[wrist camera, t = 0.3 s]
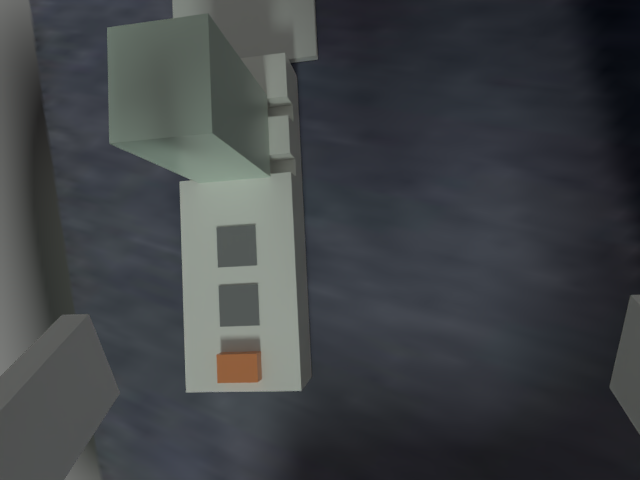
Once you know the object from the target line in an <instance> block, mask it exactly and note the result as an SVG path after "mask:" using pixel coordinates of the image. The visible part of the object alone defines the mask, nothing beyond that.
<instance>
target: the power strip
mask: <svg viewBox="0 0 640 480" xmlns="http://www.w3.org/2000/svg"><path fill="white" fill-rule="evenodd" d="M241 60H242V61H243V63H244V64H245V65H246V67H247V68H248V70H249V71H250V72H251V74H252V75H253V77H254V78H255V79H256V81H257V82H258V84H259V85H260V86H261V88H262V89H263V90H264V92H265V93H266V95H267V107H268V130H269V152H270V175H271V177H266V178H254V179H242V180H231V181H219V182H207V183H197V182H195V181H193V180H191V179H190V181H181V182H180V211H181V243H182V276H183V309H184V342H185V375H186V392H253V391H302V389H303V388H304V387H305V385H306V384H307V383H308V381H309V380H310V379H311V377H312V369H311V349H310V328H309V308H308V288H307V268H306V247H305V227H304V207H303V187H302V166H301V146H300V126H299V106H298V85H297V75H296V73H295V71H294V69H293V67H292V65H291V63H290V61H289V59H288V57H287V55H286V53H278V54H270V55H262V56H254V57H246V58H241Z"/></svg>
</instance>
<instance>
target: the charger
mask: <svg viewBox="0 0 640 480" xmlns="http://www.w3.org/2000/svg"><path fill="white" fill-rule="evenodd" d="M107 46H108V97H109V144H112V145H114V146H116V147H118V148H121V149H123V150H125V151H127V152H130V153H132V154H134V155H137V156H139V157H141V158H143V159H146V160H148V161H150V162H152V163H155V164H157V165H159V166H161V167H164V168H166V169H168V170H170V171H173V172H175V173H177V174H179V175H182V176H184V177H186V178H188V179H191V180H193V181H195V182H197V183H207V182H219V181H231V180H242V179H254V178H266V177H271V175H270V152H269V130H268V107H267V95H266V93H265V92H264V90H263V89H262V88H261V86H260V85H259V84H258V82H257V81H256V79H255V78H254V77H253V75H252V74H251V72H250V71H249V70H248V68H247V67H246V65H245V64H244V63H243V61H242V60H241V58H240V57H239V56H238V54H237V53H236V52H235V50H234V49H233V47H232V46H231V45H230V43H229V42H228V40H227V39H226V38H225V36H224V35H223V33H222V32H221V31H220V29H219V28H218V26H217V25H216V24H215V22H214V21H213V20H212V18H211V17H210V15H209V14H208V13H207V14H200V15H193V16H186V17H179V18H172V19H165V20H158V21H151V22H144V23H137V24H130V25H123V26H116V27H109V28H107Z"/></svg>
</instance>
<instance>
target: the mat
mask: <svg viewBox="0 0 640 480" xmlns="http://www.w3.org/2000/svg"><path fill="white" fill-rule="evenodd" d="M207 13H208V14H209V15H210V17H211V18H212V20H213V21H214V22H215V24H216V25H217V26H218V28H219V29H220V31H221V32H222V33H223V35H224V36H225V38H226V39H227V40H228V42H229V43H230V45H231V46H232V47H233V49H234V50H235V52H236V53H237V54H238V56H239V57H240V58H246V57H254V56H262V55H270V54H278V53H286V55H287V57H288V59H289V61H290V63H295V62H303V61H311V60H318V48H317V29H316V10H315V0H173V18H179V17H186V16H193V15H200V14H207Z"/></svg>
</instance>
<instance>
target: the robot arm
mask: <svg viewBox="0 0 640 480" xmlns="http://www.w3.org/2000/svg"><path fill="white" fill-rule="evenodd" d="M609 388H610V389H611V391H612V393H613V394H614V396H615V397H616V399H617V400H618V402H619V403H620V405H621V407H622V408H623V410H624V411H625V413H626V414H627V416H628V417H629V419H630V421H631V422H632V424H633V425H634V427H635V428H636V430H637V431H638V433H639V435H640V295H630V299H629V303H628V308H627V312H626V316H625V321H624V325H623V329H622V334H621V338H620V343H619V347H618V351H617V356H616V360H615V364H614V369H613V373H612V378H611V382H610V386H609ZM119 394H120V392H119V389H118V387H117V384H116V382H115V379H114V376H113V374H112V371H111V369H110V366H109V364H108V361H107V359H106V356H105V354H104V351H103V349H102V346H101V344H100V341H99V339H98V336H97V333H96V331H95V328H94V326H93V323H92V321H91V318H90V316H89V314H74V315H61V317H59V318H58V320H56V321H55V322H54V323H53V324H52V325H51V326H50V327H49V328H48V329H47V330H46V331H45V332H44V333H43V334H42V335H41V336H40V337H39V338H38V339H37V340H36V341H35V342H34V343H33V344H32V345H31V346H30V347H29V348H28V349H27V350H26V351H25V353H23V354H22V355H21V356H20V357H19V358H18V359H17V360H16V361H15V362H14V364H12V365H11V366H10V367H9V369H7V370H6V371H5V372H4V373H3V374H2V375H1V376H0V480H64V479H65V477H66V476H67V474H68V473H69V471H70V470H71V468H72V467H73V465H74V463H75V462H76V460H77V459H78V457H79V456H80V454H81V453H82V451H83V450H84V448H85V446H86V445H87V443H88V442H89V440H90V439H91V437H92V436H93V434H94V432H95V431H96V429H97V428H98V426H99V425H100V423H101V422H102V420H103V419H104V417H105V415H106V414H107V412H108V411H109V409H110V408H111V406H112V405H113V403H114V401H115V400H116V398H117V397H118V395H119Z"/></svg>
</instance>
